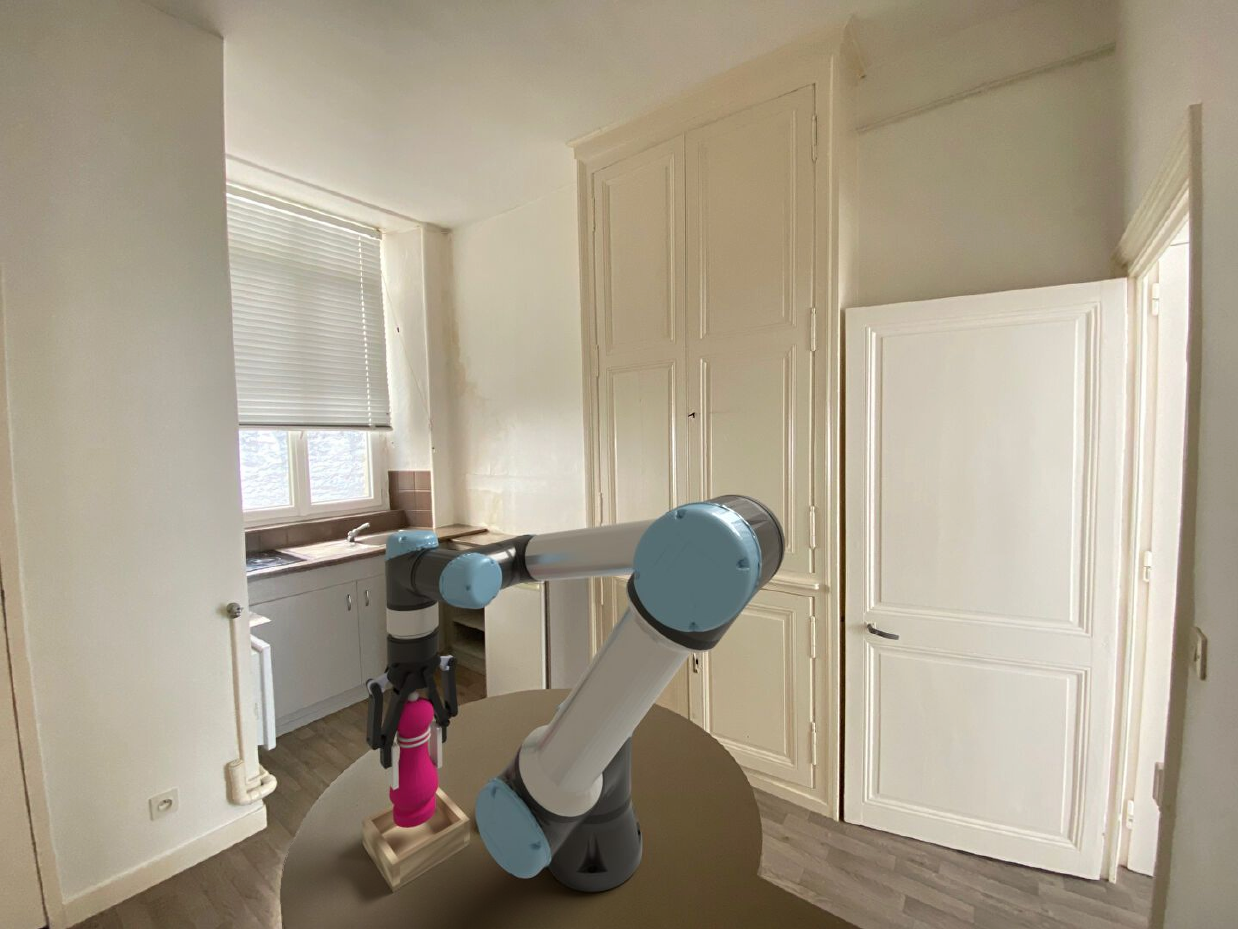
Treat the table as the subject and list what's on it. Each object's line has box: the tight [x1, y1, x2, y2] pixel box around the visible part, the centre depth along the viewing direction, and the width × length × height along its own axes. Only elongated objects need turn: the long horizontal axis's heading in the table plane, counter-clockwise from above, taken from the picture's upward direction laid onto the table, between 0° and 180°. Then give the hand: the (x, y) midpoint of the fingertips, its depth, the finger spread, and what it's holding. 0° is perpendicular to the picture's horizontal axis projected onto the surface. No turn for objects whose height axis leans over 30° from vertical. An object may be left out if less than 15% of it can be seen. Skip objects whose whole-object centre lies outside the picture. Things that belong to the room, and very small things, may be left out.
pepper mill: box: [388, 689, 440, 828], centre depth 79 cm, size 7×7×20 cm
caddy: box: [362, 786, 471, 893], centre depth 79 cm, size 12×12×4 cm
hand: (415, 773), depth 79 cm, fingers closed on pepper mill, 6 cm apart
